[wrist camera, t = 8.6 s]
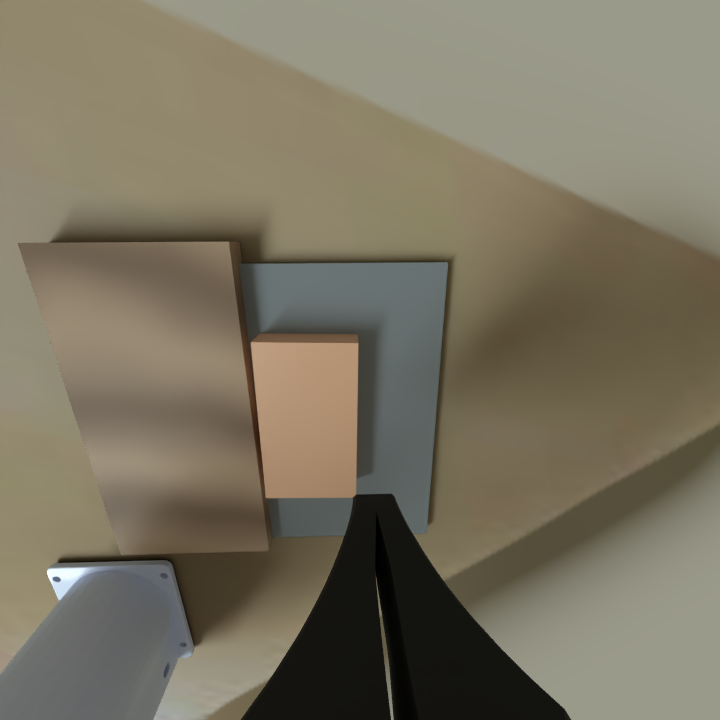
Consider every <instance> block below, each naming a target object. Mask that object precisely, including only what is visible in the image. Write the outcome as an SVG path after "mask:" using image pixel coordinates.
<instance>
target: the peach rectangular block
mask: <svg viewBox="0 0 720 720" xmlns="http://www.w3.org/2000/svg"><path fill="white" fill-rule="evenodd" d="M251 350H252V361H253V371H254V381H255V391H256V402H257V412H258V422H259V432H260V443H261V453H262V463H263V473H264V484H265V494H266V498H353V497H354V496H355V495H356V469H357V403H358V334H264V333H260V334H259V335H258V336H257V337H256V338H255V339H254V340H253V341H252V342H251Z"/></svg>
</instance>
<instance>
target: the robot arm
mask: <svg viewBox="0 0 720 720" xmlns="http://www.w3.org/2000/svg"><path fill="white" fill-rule="evenodd" d="M375 572H376V573H375ZM47 574H48V577H49V579H50V581H51V583H52V586H53V588H54V590H55V592H56V595H57V597H58V599H59V602H58V603H57V605H56V606H55V607H54V608H53V609H52V611H51V612H50V613H49V614H48V616H47V617H46V618H45V619H44V621H43V622H42V623H41V624H40V625H39V627H38V628H37V629H36V630H35V632H34V633H33V634H32V635H31V637H30V638H29V639H28V640H27V641H26V643H25V644H24V645H23V646H22V648H21V649H20V650H19V651H18V653H17V654H16V655H15V656H14V657H13V659H12V660H11V661H10V663H9V664H8V665H7V666H6V667H5V669H4V670H3V671H2V672H1V674H0V720H153V719H154V716H155V714H156V711H157V709H158V706H159V704H160V702H161V699H162V697H163V694H164V692H165V690H166V687H167V685H168V682H169V680H170V677H171V675H172V673H173V670H174V668H175V665H176V663H177V661H178V658H184V657H190V656H191V655H192V654H193V651H194V645H193V641H192V638H191V634H190V630H189V626H188V622H187V619H186V615H185V611H184V607H183V604H182V600H181V596H180V592H179V589H178V585H177V581H176V577H175V573H174V570H173V566H172V564H171V563H170V562H169V561H167V560H152V561H117V562H81V563H55V564H53V565H51V566H50V567H49V568H48V570H47ZM376 579H377V585H378V592H379V598H380V605H381V611H382V618H383V624H384V630H385V637H386V643H387V650H388V658H389V667H390V678H391V691H392V704H393V716H394V720H571V719H570V717H569V716H568V714H567V712H566V711H565V709H564V708H563V707H562V706H560V705H559V704H558V703H557V702H556V701H555V700H554V699H553V698H551V696H549V695H548V694H547V693H546V692H545V691H544V690H543V689H542V688H540V686H539V685H538V684H536V683H535V682H534V681H533V680H532V679H531V678H530V677H529V676H528V675H527V674H526V673H525V672H524V671H523V670H521V668H520V667H519V666H518V665H517V664H516V663H515V662H514V661H513V660H512V659H511V658H510V657H509V656H508V655H507V654H506V653H505V652H504V651H503V650H502V649H501V648H500V647H499V646H498V645H497V644H496V643H495V642H494V640H493V639H492V638H491V637H490V636H489V635H488V634H487V633H486V632H485V631H484V629H483V628H482V627H481V626H480V625H479V624H478V623H477V622H476V621H475V620H474V619H473V617H472V616H471V615H470V614H469V613H468V611H467V610H466V609H465V608H464V607H463V605H462V604H461V603H460V602H459V601H458V599H457V598H456V597H455V595H454V594H453V593H452V591H451V590H450V589H449V588H448V586H447V585H446V584H445V582H444V581H443V580H442V578H441V577H440V575H439V574H438V573H437V571H436V570H435V568H434V567H433V565H432V564H431V562H430V561H429V559H428V558H427V556H426V555H425V553H424V552H423V550H422V548H421V547H420V545H419V543H418V542H417V540H416V538H415V537H414V535H413V533H412V532H411V530H410V528H409V526H408V524H407V522H406V521H405V519H404V517H403V515H402V513H401V511H400V508H399V506H398V504H397V501H396V499H395V496H394V495H393V494H356V495H355V496H354V497H353V504H352V510H351V515H350V519H349V523H348V526H347V530H346V533H345V536H344V539H343V542H342V545H341V547H340V550H339V553H338V555H337V558H336V560H335V563H334V565H333V567H332V570H331V572H330V575H329V577H328V579H327V581H326V583H325V585H324V588H323V590H322V592H321V594H320V596H319V598H318V600H317V602H316V604H315V606H314V607H313V609H312V611H311V613H310V615H309V617H308V618H307V620H306V622H305V624H304V626H303V627H302V629H301V631H300V633H299V634H298V636H297V638H296V639H295V641H294V642H293V644H292V646H291V647H290V649H289V650H288V652H287V654H286V655H285V657H284V658H283V660H282V661H281V663H280V665H279V666H278V668H277V669H276V671H275V672H274V674H273V675H272V677H271V678H270V680H269V681H268V683H267V684H266V686H265V687H264V688H263V690H262V691H261V692H260V694H259V695H258V697H257V698H256V699H255V701H254V702H253V703H252V705H251V706H250V708H249V709H248V711H247V712H246V713H245V715H244V716H243V717H242V719H241V720H391V716H390V708H389V699H388V691H387V682H386V674H385V665H384V655H383V648H382V637H381V627H380V617H379V607H378V597H377V586H376Z"/></svg>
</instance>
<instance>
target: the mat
mask: <svg viewBox="0 0 720 720" xmlns="http://www.w3.org/2000/svg"><path fill="white" fill-rule="evenodd" d="M239 268H240V276H241V284H242V292H243V301H244V309H245V317H246V325H247V333H248V341H249V349H250V357H251V366H252V374H253V382H254V390H255V381H254V371H253V361H252V350H251V342H252V341H253V340H254V339H255V338H256V337H257V336H258V335H259V334H260V333H264V334H358V403H357V469H356V494H393V495H394V496H395V499H396V501H397V504H398V506H399V508H400V511H401V513H402V515H403V517H404V519H405V521H406V522H407V524H408V526H409V528H410V530H411V532H412V533H413V534H421V533H427V523H428V510H429V497H430V485H431V472H432V460H433V447H434V435H435V422H436V409H437V397H438V384H439V372H440V359H441V347H442V334H443V321H444V309H445V296H446V284H447V271H448V262H360V263H242V264H239ZM255 398H256V391H255ZM256 406H257V402H256ZM257 414H258V412H257ZM268 504H269V512H270V520H271V528H272V536H273V537H310V536H345V533H346V530H347V526H348V523H349V519H350V515H351V510H352V504H353V498H268Z"/></svg>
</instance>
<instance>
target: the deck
mask: <svg viewBox="0 0 720 720" xmlns="http://www.w3.org/2000/svg"><path fill="white" fill-rule="evenodd" d="M18 245H19V248H20V252H21V255H22V258H23V261H24V264H25V267H26V270H27V273H28V276H29V279H30V282H31V285H32V288H33V291H34V294H35V297H36V300H37V303H38V306H39V309H40V312H41V315H42V318H43V321H44V324H45V327H46V330H47V333H48V336H49V339H50V342H51V345H52V348H53V351H54V354H55V357H56V360H57V363H58V366H59V369H60V372H61V375H62V378H63V382H64V385H65V388H66V391H67V394H68V397H69V400H70V403H71V406H72V409H73V412H74V415H75V418H76V421H77V424H78V427H79V430H80V433H81V436H82V439H83V442H84V445H85V448H86V451H87V454H88V457H89V460H90V463H91V466H92V469H93V472H94V475H95V478H96V481H97V484H98V487H99V490H100V493H101V496H102V499H103V502H104V505H105V508H106V512H107V515H108V518H109V521H110V524H111V527H112V530H113V533H114V536H115V539H116V542H117V545H118V548H119V551H120V554H121V555H146V554H182V553H218V552H254V551H269V549H270V546H271V542H272V538H273V536H272V528H271V520H270V512H269V504H268V498H266V494H265V484H264V473H263V463H262V453H261V443H260V432H259V422H258V414H257V406H256V398H255V390H254V382H253V374H252V366H251V357H250V349H249V341H248V333H247V325H246V317H245V309H244V301H243V292H242V284H241V276H240V268H239V264H242V257H241V249H240V242H86V243H18Z"/></svg>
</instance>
